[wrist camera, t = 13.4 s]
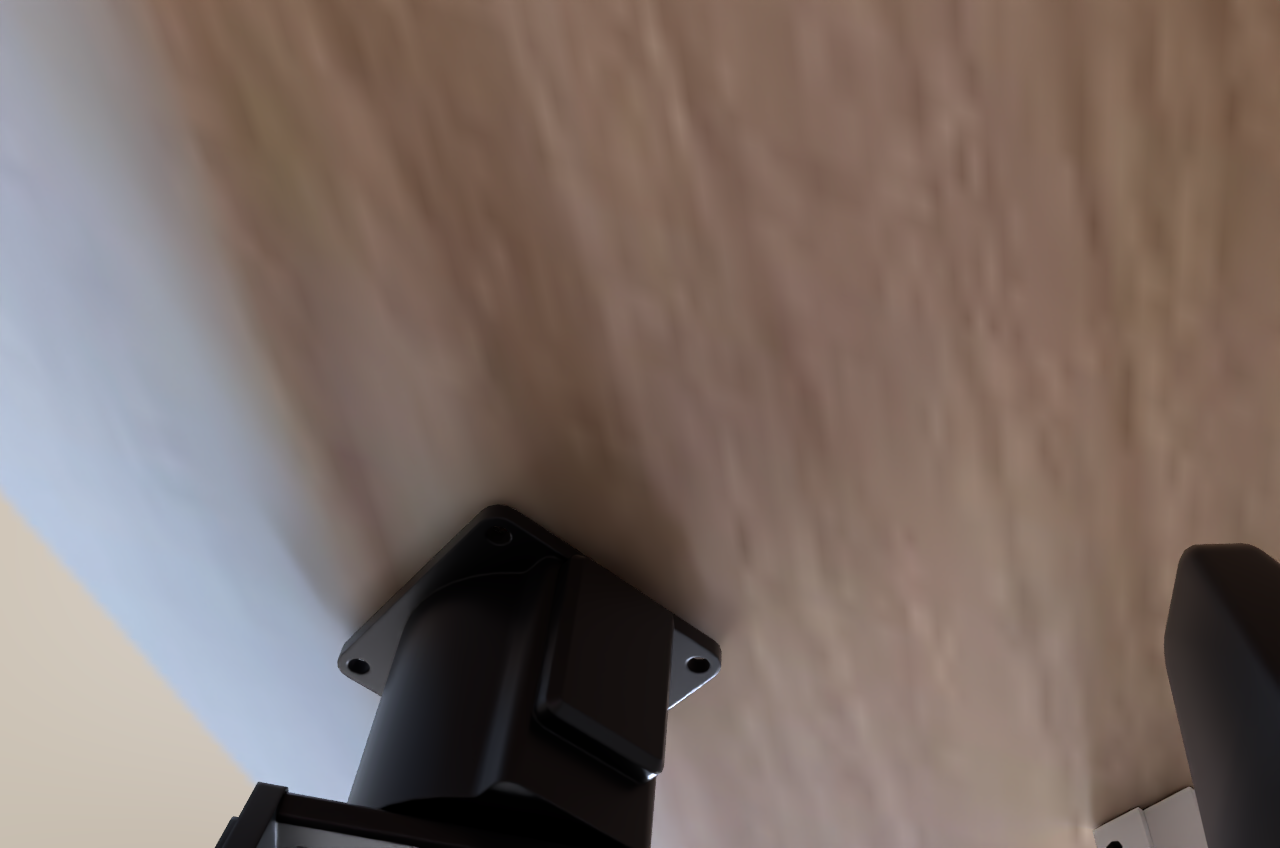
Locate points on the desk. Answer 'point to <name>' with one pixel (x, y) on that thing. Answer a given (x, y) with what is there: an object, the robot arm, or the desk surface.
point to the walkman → (1157, 825)
